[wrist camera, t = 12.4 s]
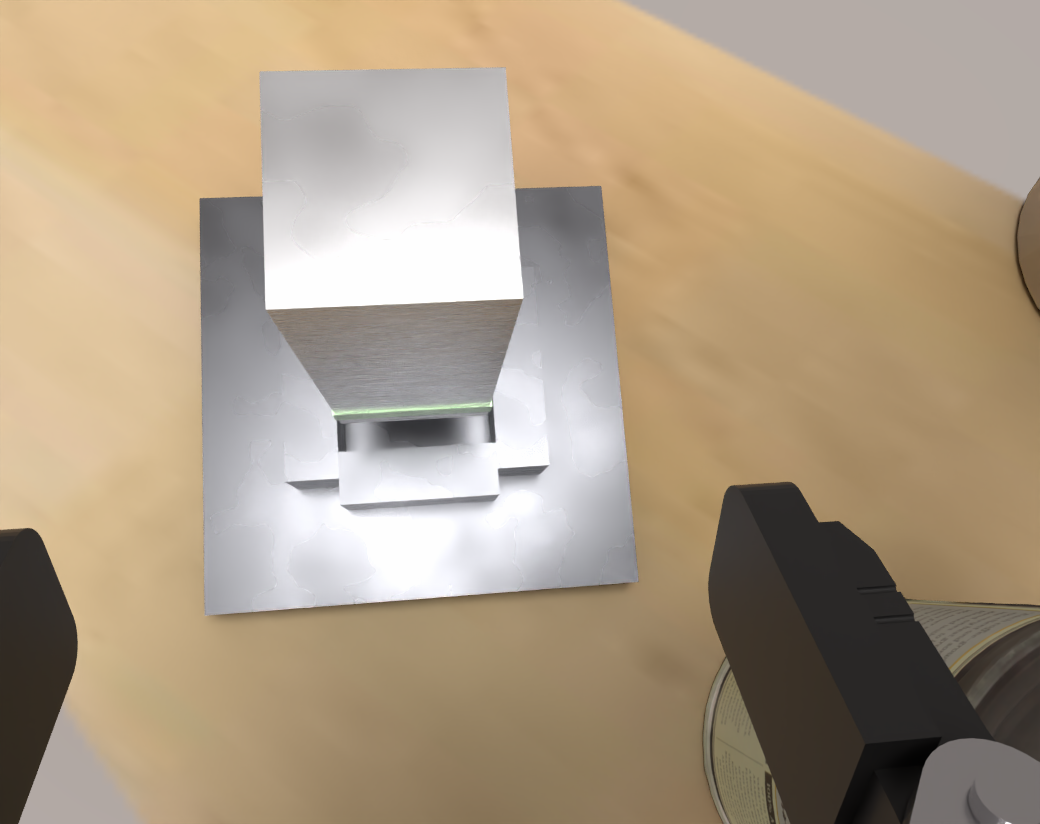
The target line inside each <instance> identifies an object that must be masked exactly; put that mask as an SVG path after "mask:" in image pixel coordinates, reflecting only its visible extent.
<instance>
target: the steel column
mask: <svg viewBox="0 0 1040 824" xmlns="http://www.w3.org/2000/svg"><path fill="white" fill-rule="evenodd" d="M260 108H261V148H262V188H263V227H264V267H265V307H266V311H267V313H268V314H269V316H270V317H271V319H272V320H273V322H274V323H275V325H276V326H277V328H278V329H279V331H280V332H281V334H282V335H283V337H284V338H285V340H286V341H287V343H288V344H289V346H290V347H291V349H292V350H293V352H294V353H295V355H296V356H297V358H298V359H299V361H300V362H301V364H302V365H303V367H304V368H305V370H306V371H307V373H308V374H309V376H310V377H311V379H312V380H313V382H314V383H315V385H316V386H317V388H318V389H319V391H320V392H321V394H322V395H323V397H324V399H325V400H326V402H327V403H328V405H329V406H330V408H331V409H332V415H333V417H334V418H335V420H339V421H340V423H341V424H349V423H367V422H384V421H402V420H420V419H437V418H455V417H472V416H487V414H488V412H491V409H492V397H493V394H494V391H495V388H496V385H497V381H498V378H499V375H500V372H501V368H502V365H503V362H504V359H505V356H506V352H507V349H508V346H509V343H510V340H511V336H512V333H513V330H514V327H515V323H516V320H517V317H518V314H519V311H520V307H521V304H522V301H523V288H522V275H521V262H520V249H519V236H518V223H517V210H516V197H515V184H514V171H513V158H512V145H511V132H510V119H509V106H508V93H507V80H506V67H502V68H443V69H383V70H323V71H264V72H260Z"/></svg>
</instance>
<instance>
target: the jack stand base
mask: <svg viewBox="0 0 1040 824" xmlns="http://www.w3.org/2000/svg"><path fill="white" fill-rule="evenodd" d="M515 197H516V210H517V223H518V236H519V249H520V262H521V275H522V288H523V301H522V304H521V307H520V311H519V314H518V317H517V320H516V323H515V327H514V330H513V333H512V336H511V340H510V343H509V346H508V349H507V352H506V356H505V359H504V362H503V365H502V368H501V372H500V375H499V378H498V381H497V385H496V388H495V391H494V394H493V397H492V409H491V412H488V414H487V416H472V417H455V418H437V419H420V420H402V421H384V422H367V423H349V424H341V423H340V421H339V420H335V418H334V417H333V415H332V409H331V408H330V406H329V405H328V403H327V402H326V400H325V399H324V397H323V395H322V394H321V392H320V391H319V389H318V388H317V386H316V385H315V383H314V382H313V380H312V379H311V377H310V376H309V374H308V373H307V371H306V370H305V368H304V367H303V365H302V364H301V362H300V361H299V359H298V358H297V356H296V355H295V353H294V352H293V350H292V349H291V347H290V346H289V344H288V343H287V341H286V340H285V338H284V337H283V335H282V334H281V332H280V331H279V329H278V328H277V326H276V325H275V323H274V322H273V320H272V319H271V317H270V316H269V314H268V313H267V311H266V307H265V267H264V227H263V197H232V198H200V267H201V349H202V430H203V512H204V594H205V615H218V614H231V613H244V612H257V611H270V610H283V609H295V608H308V607H321V606H334V605H347V604H360V603H373V602H385V601H398V600H411V599H424V598H437V597H450V596H463V595H475V594H488V593H501V592H514V591H527V590H540V589H553V588H566V587H578V586H591V585H604V584H617V583H630V582H639V580H638V570H637V559H636V549H635V538H634V527H633V517H632V506H631V496H630V485H629V475H628V464H627V454H626V443H625V432H624V422H623V411H622V401H621V390H620V380H619V369H618V359H617V348H616V338H615V327H614V316H613V306H612V295H611V285H610V274H609V264H608V253H607V243H606V232H605V222H604V211H603V200H602V190H601V186H588V187H555V188H523V189H515Z"/></svg>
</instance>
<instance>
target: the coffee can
mask: <svg viewBox="0 0 1040 824" xmlns="http://www.w3.org/2000/svg"><path fill="white" fill-rule="evenodd" d="M905 600H906V601H907V603H908V605H909V606H910V608H911V609H912V611H913V613H914V619H915V621H919V622H920V624H921V625H922V627H923V628H924V630H925V632H926V633H927V635H928V636H929V638H930V639H931V641H932V643H933V644H934V646H935V647H936V649H937V651H938V652H939V654H940V655H941V657H942V659H943V660H944V662H945V663H946V665H947V666H948V668H949V670H950V671H951V673H952V674H953V676H954V678H955V679H956V681H957V682H958V684H959V685H960V687H961V689H962V690H963V692H964V693H965V695H966V697H967V698H968V700H969V701H970V703H971V704H972V706H973V708H974V709H975V711H976V712H977V714H978V716H979V717H980V719H981V720H982V722H983V723H984V725H985V727H986V728H987V730H988V731H989V733H990V734H991V735H992V737H993V738H994V739H995V741H996V742H999V743H1002V744H1004V745H1007V746H1010V747H1013V748H1015V749H1017V750H1019V751H1021V752H1023V753H1025V754H1027V755H1029V756H1030V757H1032V758H1034V759H1035V760H1037V761H1038V762H1040V606H1039V605H1029V604H995V603H968V602H945V601H927V600H912V599H905ZM703 748H704V768H705V772H706V776H707V779H708V782H709V787H710V791H711V795H712V798H713V800H714V803H715V805H716V808H717V810H718V813H719V815H720V817H721V819H722V821H723V823H724V824H790V822H789V819H788V817H787V814H786V811H785V809H784V806H783V803H782V801H781V798H780V796H779V793H778V790H777V788H776V785H775V782H774V780H773V777H772V775H771V772H770V769H769V767H768V764H767V762H766V759H765V756H764V754H763V751H762V748H761V746H760V743H759V741H758V738H757V735H756V733H755V730H754V727H753V725H752V722H751V720H750V717H749V714H748V712H747V709H746V707H745V704H744V701H743V699H742V696H741V693H740V691H739V688H738V686H737V683H736V680H735V678H734V675H733V672H732V670H731V667H730V665H729V662H728V659H727V657H726V658H725V660H724V662H723V664H722V666H721V668H720V670H719V672H718V674H717V676H716V678H715V681H714V683H713V686H712V689H711V692H710V695H709V699H708V702H707V706H706V712H705V720H704V730H703Z"/></svg>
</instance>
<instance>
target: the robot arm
mask: <svg viewBox="0 0 1040 824" xmlns="http://www.w3.org/2000/svg"><path fill="white" fill-rule="evenodd" d="M1017 240H1018V253H1019V262H1020V266H1021V269H1022V273H1023V276H1024V280H1025V283H1026V286H1027V288H1028V290H1029V292H1030V294H1031V296H1032V297H1033V299H1034V301H1035V303H1036V305H1037V307H1038V308H1039V310H1040V178H1039V179H1038V181H1037V182H1036V184H1035V185H1034V186H1033V188H1032V189H1031V191H1030V192H1029V194H1028V196H1027V199H1026V201H1025V204H1024V206H1023V209H1022V212H1021V214H1020V221H1019V228H1018V235H1017ZM708 591H709V603H710V609H711V614H712V618H713V622H714V625H715V628H716V631H717V633H718V636H719V638H720V641H721V644H722V646H723V649H724V652H725V654H726V657H727V659H728V662H729V665H730V667H731V670H732V672H733V675H734V678H735V680H736V683H737V686H738V688H739V691H740V693H741V696H742V699H743V701H744V704H745V707H746V709H747V712H748V714H749V717H750V720H751V722H752V725H753V727H754V730H755V733H756V735H757V738H758V741H759V743H760V746H761V748H762V751H763V754H764V756H765V759H766V762H767V764H768V767H769V769H770V772H771V775H772V777H773V780H774V782H775V785H776V788H777V790H778V793H779V796H780V798H781V801H782V803H783V806H784V809H785V811H786V814H787V817H788V819H789V822H790V824H1040V762H1038V761H1037V760H1035V759H1034V758H1032V757H1030V756H1029V755H1027V754H1025V753H1023V752H1021V751H1019V750H1017V749H1015V748H1013V747H1010V746H1007V745H1004V744H1002V743H999V742H996V741H995V739H994V738H993V737H992V735H991V734H990V733H989V731H988V730H987V728H986V727H985V725H984V723H983V722H982V720H981V719H980V717H979V716H978V714H977V712H976V711H975V709H974V708H973V706H972V704H971V703H970V701H969V700H968V698H967V697H966V695H965V693H964V692H963V690H962V689H961V687H960V685H959V684H958V682H957V681H956V679H955V678H954V676H953V674H952V673H951V671H950V670H949V668H948V666H947V665H946V663H945V662H944V660H943V659H942V657H941V655H940V654H939V652H938V651H937V649H936V647H935V646H934V644H933V643H932V641H931V639H930V638H929V636H928V635H927V633H926V632H925V630H924V628H923V627H922V625H921V624H920V622H919V621H915V619H914V613H913V611H912V609H911V608H910V606H909V605H908V603H907V601H906V600H905V598H904V597H903V595H902V594H901V592H897V591H896V584H895V582H894V581H893V579H892V578H891V576H890V575H889V573H888V571H887V570H886V568H885V567H884V565H883V563H882V562H881V560H880V559H879V557H878V556H877V554H876V552H875V551H874V550H873V549H872V548H871V547H870V546H868V545H867V544H866V543H865V542H864V541H862V540H861V539H860V538H859V537H857V536H856V535H855V534H854V533H852V532H851V531H850V530H849V529H848V528H846V527H845V526H844V525H843V524H841V523H840V522H839V521H835V522H820V523H819V522H818V521H817V519H816V517H815V516H814V514H813V512H812V510H811V509H810V507H809V505H808V503H807V502H806V500H805V498H804V497H803V495H802V493H801V491H800V490H799V488H798V487H797V486H796V485H795V484H793V483H792V482H780V483H764V484H748V485H733V486H730V487H729V488H728V489H727V491H726V493H725V495H724V499H723V504H722V509H721V515H720V520H719V525H718V530H717V535H716V541H715V546H714V551H713V556H712V562H711V567H710V572H709V582H708ZM77 646H78V641H77V630H76V624H75V621H74V617H73V615H72V612H71V610H70V607H69V605H68V602H67V600H66V597H65V595H64V592H63V590H62V587H61V585H60V582H59V580H58V577H57V575H56V572H55V570H54V568H53V565H52V563H51V560H50V558H49V555H48V553H47V550H46V548H45V545H44V543H43V541H42V538H41V537H40V535H39V534H38V533H37V532H36V531H35V530H33V529H30V528H23V529H8V530H0V824H18V823H19V820H20V817H21V815H22V812H23V809H24V807H25V804H26V801H27V798H28V796H29V793H30V790H31V787H32V785H33V782H34V779H35V777H36V774H37V771H38V769H39V765H40V763H41V760H42V757H43V755H44V752H45V750H46V747H47V744H48V741H49V739H50V736H51V733H52V731H53V728H54V725H55V722H56V720H57V717H58V714H59V712H60V709H61V706H62V703H63V701H64V698H65V695H66V693H67V690H68V687H69V684H70V682H71V679H72V676H73V673H74V669H75V665H76V659H77Z"/></svg>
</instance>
